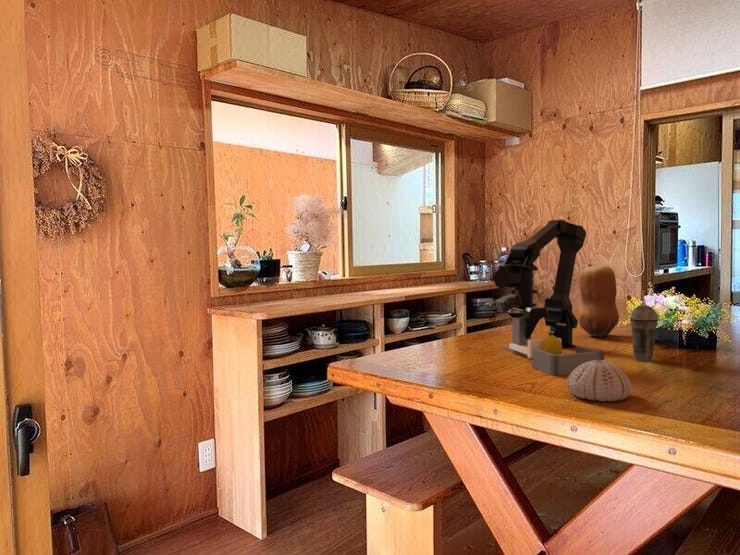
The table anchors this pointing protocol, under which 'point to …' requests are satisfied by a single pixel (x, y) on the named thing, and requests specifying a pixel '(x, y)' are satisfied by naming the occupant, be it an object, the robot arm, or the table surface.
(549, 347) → the lemon
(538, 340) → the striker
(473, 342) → the table surface
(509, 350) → the rail
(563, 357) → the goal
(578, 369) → the sea urchin shell
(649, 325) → the beverage cup
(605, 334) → the butternut squash
